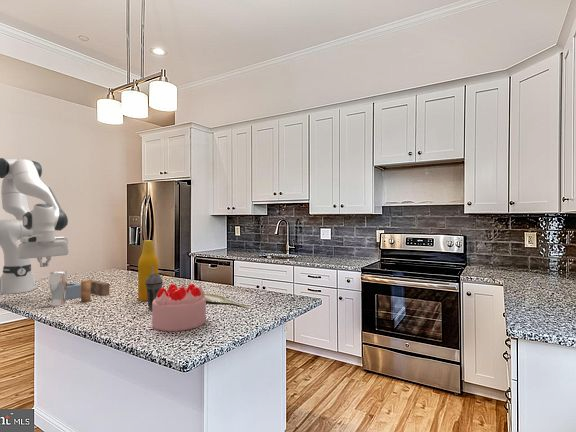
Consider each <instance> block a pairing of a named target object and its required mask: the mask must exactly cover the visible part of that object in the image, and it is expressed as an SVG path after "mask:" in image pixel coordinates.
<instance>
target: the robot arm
mask: <svg viewBox="0 0 576 432" xmlns="http://www.w3.org/2000/svg"><path fill="white" fill-rule="evenodd" d="M42 174H43V167H42V164H40V162H37V161H34V160H29V159H26V158H25V159H24V158H3V157H0V179H2V182H1V187H0V188H1V192H0V193H1V194H0V195H1V206H2V209H3V210H4V211H5V212H6V213H8V214H9V215H12V216H14V217H15V219H0V248H1V249H2V253H3V260H4V262H3V263H4V265H3V267H2V274H1V276H0V295H4V294H5V295H8V294H9V295H10V294H11V295H12V294H19V293H20V294H21V293H27V292H30V291H34V290H37V289H39V286H37V285H36V281H35V274H34V273H33V272H32V264H31V259H37V262H38V263H39V267H40V268H45V267H46V268H47V267H49V263H50V262H51V260H52V257H61V256H67V255H69V246H68V244H69V239H68V238H67V237H65V236H56V231H57V232H58V231H62V230H64V229H65V228H66V227H67V226H68V223H69V221H68V220H69V219H68V216H67V214H66V213H65V212H64V209H62V207H61V205H60V203H59V201H58V199H57V197H56V195H55V194H54V191H53V190H52V189H51V188H50V187H49V186H48V185H46V184H45V183H44V182H43V181H42V180H41V178H42V177H41V176H42ZM28 197H33V198H37V199H38V200H42V201H43V202H44V203H36V204H34V205H33V208H32V209H30V207H29V202H28ZM18 240H19V241H20V243H18ZM43 258H45V259H46V261H45V262H43V261H42V260H43Z"/></svg>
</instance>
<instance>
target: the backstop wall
mask: <svg viewBox="0 0 576 432" xmlns="http://www.w3.org/2000/svg"><path fill="white" fill-rule="evenodd" d="M90 280H91V294H94V295H99V296H103V297H105V296H109V295H110V283H108V282H104V281H100V280H95V279H90Z"/></svg>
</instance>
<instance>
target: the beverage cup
mask: <svg viewBox="0 0 576 432" xmlns="http://www.w3.org/2000/svg"><path fill="white" fill-rule="evenodd" d="M152 273H153V274H151V275H149V276H148V277H147V279H146V283H145V284H146V288H147V297H148V301H147V305H148V310H150V311H152V302H153V300H154V299H155V298H156V297H157V293H158V291H159V290H160V289H161V288H162V287H163V283H164V282H163V278H162V275H160V274H159V273H158V274H154V270H153V264H152Z"/></svg>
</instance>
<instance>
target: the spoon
mask: <svg viewBox="0 0 576 432" xmlns="http://www.w3.org/2000/svg"><path fill="white" fill-rule="evenodd" d="M204 297H205V298H206V303H207V302H208V303H211V304H212V303H213V304H232V305H237V306H239V307H242V308H244V309H248V308H250V307H252V306H251V305H247V304H244V303H239V302H235V301H231V300H230V299H228V298H227V297H225V296H222V295H219V294H213V293H205V296H204ZM218 301H219V302H218Z"/></svg>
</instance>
